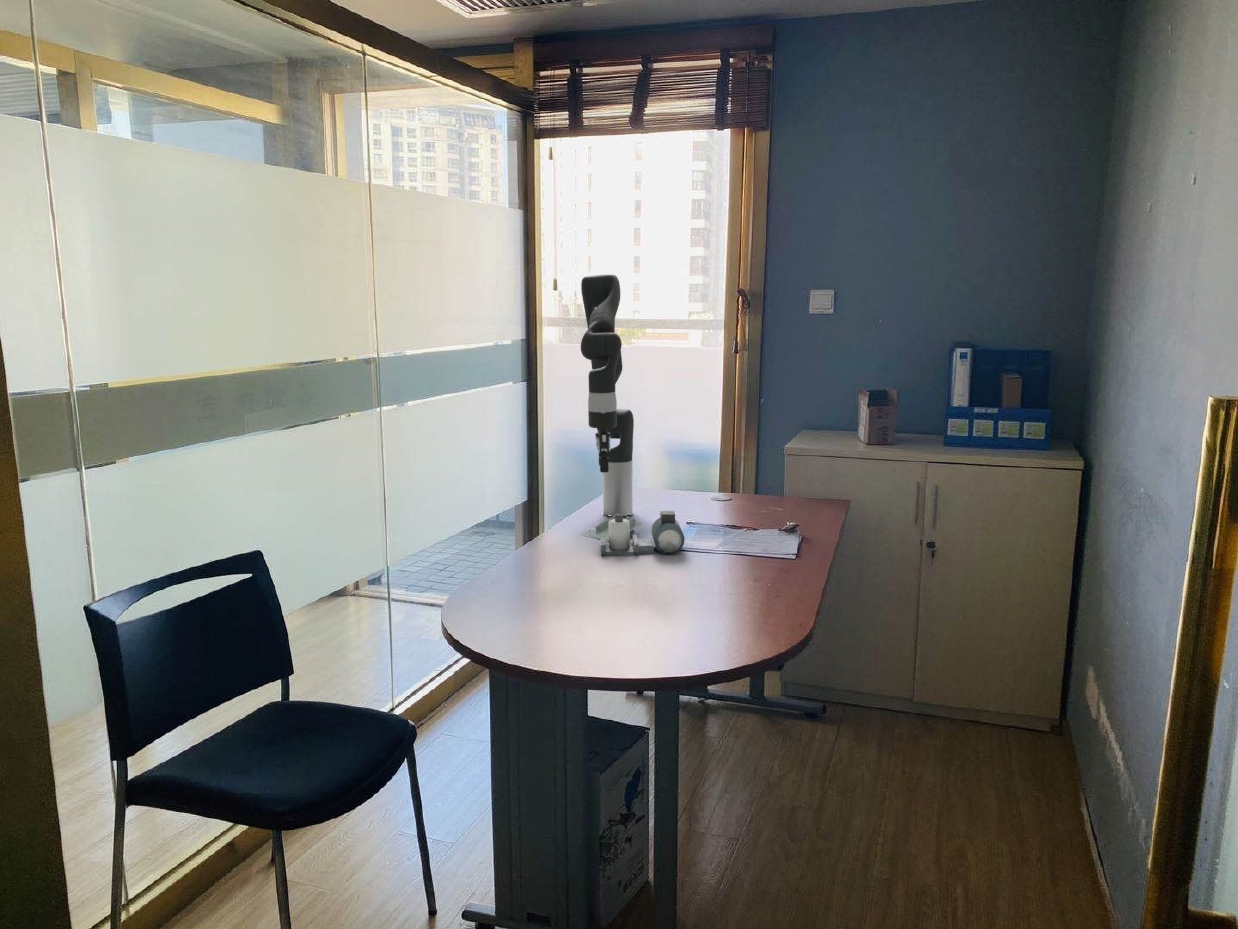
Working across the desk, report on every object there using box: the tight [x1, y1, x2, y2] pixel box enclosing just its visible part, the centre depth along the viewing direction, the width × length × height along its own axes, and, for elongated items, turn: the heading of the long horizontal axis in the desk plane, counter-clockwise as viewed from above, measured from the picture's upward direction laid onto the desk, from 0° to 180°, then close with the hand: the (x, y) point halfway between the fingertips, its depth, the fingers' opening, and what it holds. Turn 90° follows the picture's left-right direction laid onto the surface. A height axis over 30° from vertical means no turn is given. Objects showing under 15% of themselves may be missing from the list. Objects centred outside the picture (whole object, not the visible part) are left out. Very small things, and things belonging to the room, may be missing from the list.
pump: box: [609, 514, 631, 550], centre depth 238 cm, size 6×6×9 cm
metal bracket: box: [581, 514, 643, 542], centre depth 255 cm, size 14×6×15 cm
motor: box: [600, 510, 686, 557], centre depth 238 cm, size 11×22×10 cm, turn 92°
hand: (603, 468), depth 238 cm, fingers open, 8 cm apart
